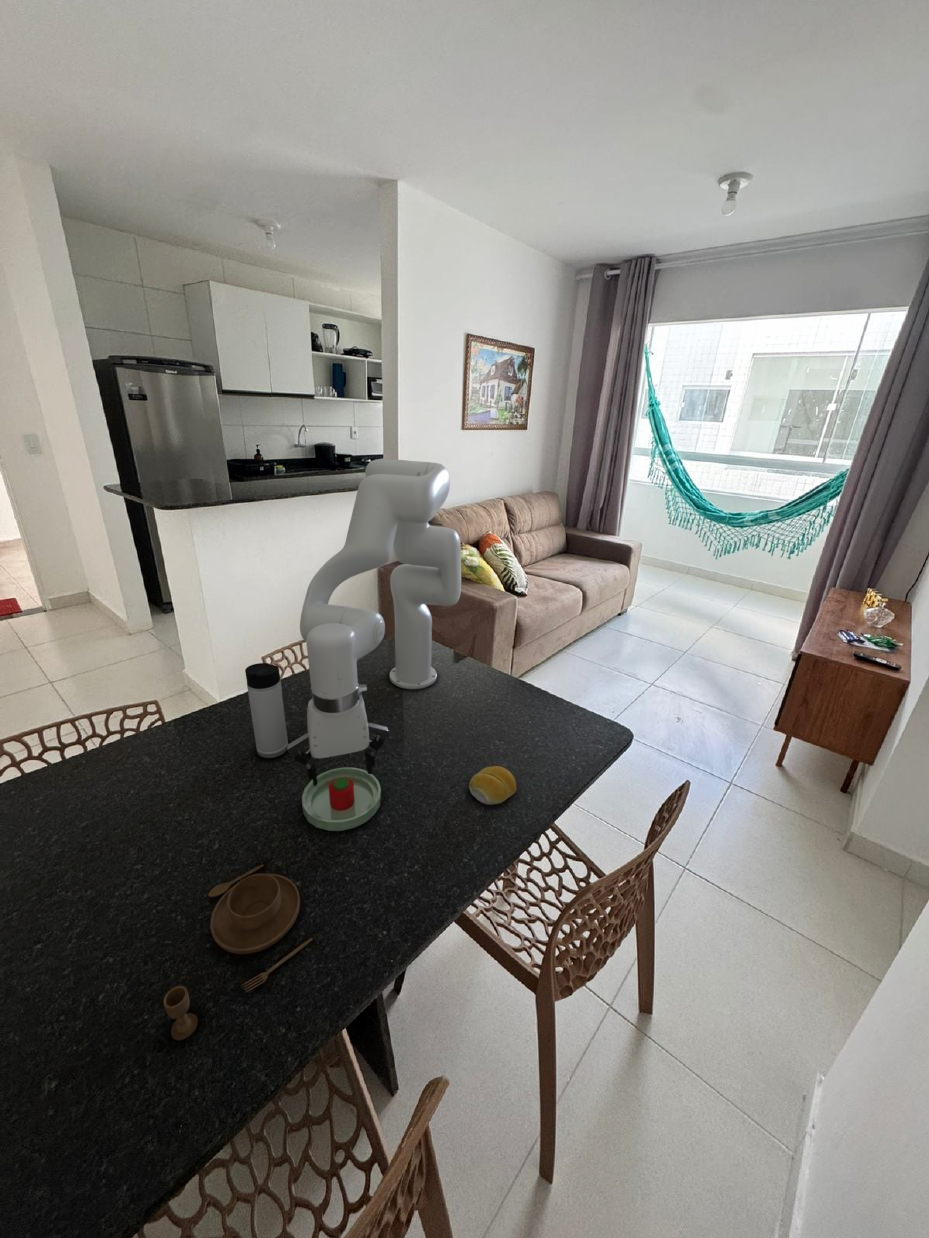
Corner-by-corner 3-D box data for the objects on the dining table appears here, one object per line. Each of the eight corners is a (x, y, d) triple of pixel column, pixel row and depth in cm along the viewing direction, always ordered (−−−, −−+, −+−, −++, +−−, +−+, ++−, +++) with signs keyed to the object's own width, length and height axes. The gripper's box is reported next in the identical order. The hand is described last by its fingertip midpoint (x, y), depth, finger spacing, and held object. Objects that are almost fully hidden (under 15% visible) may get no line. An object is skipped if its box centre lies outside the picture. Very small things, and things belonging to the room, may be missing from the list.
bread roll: (523, 789, 100) (525, 772, 99) (493, 812, 94) (495, 796, 93) (491, 768, 105) (492, 752, 104) (461, 789, 99) (462, 773, 98)
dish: (300, 786, 98) (299, 775, 97) (373, 771, 103) (373, 761, 102) (306, 841, 86) (304, 830, 85) (387, 822, 91) (387, 811, 90)
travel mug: (249, 754, 106) (235, 670, 98) (271, 736, 112) (260, 656, 104) (273, 763, 104) (261, 678, 96) (294, 744, 110) (285, 662, 102)
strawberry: (328, 796, 95) (327, 776, 94) (352, 791, 97) (351, 772, 95) (331, 813, 92) (329, 793, 90) (356, 807, 93) (355, 788, 91)
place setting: (328, 931, 72) (325, 902, 70) (178, 1050, 59) (168, 1019, 56) (267, 858, 83) (263, 831, 81) (128, 944, 69) (118, 915, 67)
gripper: (382, 676, 91) (385, 752, 99) (280, 691, 86) (291, 770, 93) (391, 699, 85) (393, 778, 92) (281, 717, 79) (293, 800, 87)
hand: (342, 774), depth 93 cm, fingers open, 9 cm apart
